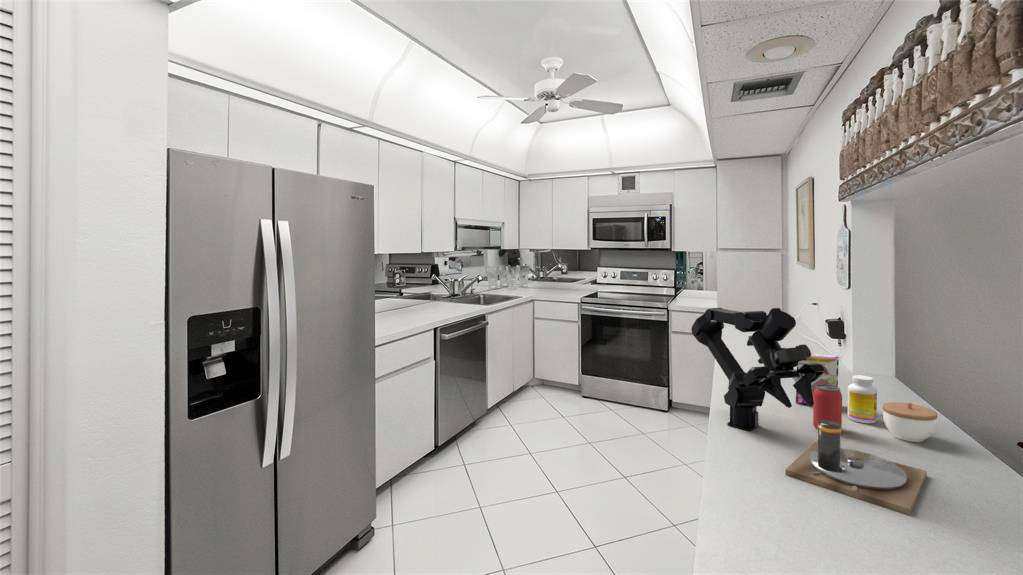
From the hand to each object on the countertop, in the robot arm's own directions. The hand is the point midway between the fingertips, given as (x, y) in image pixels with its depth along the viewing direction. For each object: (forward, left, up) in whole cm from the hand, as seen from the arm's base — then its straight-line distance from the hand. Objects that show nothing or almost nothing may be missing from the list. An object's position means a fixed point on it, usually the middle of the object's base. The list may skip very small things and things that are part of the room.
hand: (801, 406), depth 103 cm
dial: (+10, +1, -12) cm, 16 cm away
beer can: (-1, +26, -14) cm, 30 cm away
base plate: (+10, +1, -14) cm, 17 cm away
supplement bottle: (+4, +40, -14) cm, 43 cm away
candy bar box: (-9, +46, -14) cm, 49 cm away
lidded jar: (+15, +34, -14) cm, 40 cm away
